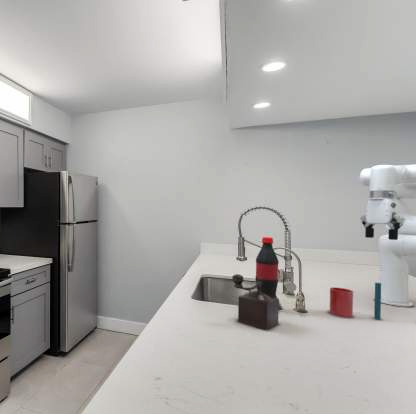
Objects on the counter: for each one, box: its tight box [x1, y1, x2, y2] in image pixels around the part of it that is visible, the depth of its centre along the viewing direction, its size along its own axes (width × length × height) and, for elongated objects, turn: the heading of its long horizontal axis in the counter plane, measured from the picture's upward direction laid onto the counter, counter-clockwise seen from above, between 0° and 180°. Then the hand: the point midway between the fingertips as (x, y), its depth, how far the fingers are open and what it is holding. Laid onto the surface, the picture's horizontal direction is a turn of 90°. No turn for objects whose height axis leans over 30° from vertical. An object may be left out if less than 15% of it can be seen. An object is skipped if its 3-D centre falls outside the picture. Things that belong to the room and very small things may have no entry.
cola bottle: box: [255, 236, 280, 298], centre depth 132 cm, size 8×8×30 cm
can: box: [329, 287, 354, 319], centre depth 126 cm, size 7×7×10 cm
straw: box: [373, 282, 382, 320], centre depth 122 cm, size 2×2×14 cm
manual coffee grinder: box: [231, 273, 280, 331], centre depth 113 cm, size 16×11×18 cm
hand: (380, 238), depth 126 cm, fingers open, 9 cm apart
